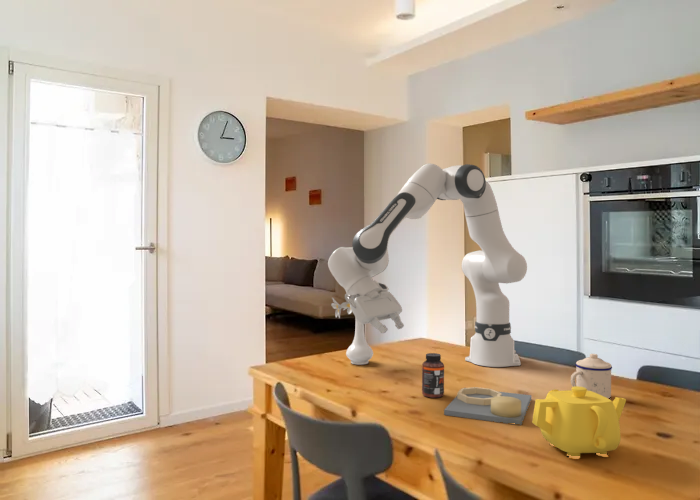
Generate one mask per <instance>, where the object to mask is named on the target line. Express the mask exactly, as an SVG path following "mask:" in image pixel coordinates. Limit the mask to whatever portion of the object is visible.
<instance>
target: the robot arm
mask: <svg viewBox="0 0 700 500" xmlns="http://www.w3.org/2000/svg"><path fill="white" fill-rule="evenodd" d="M494 194H495V193H494V191H493V189H492V187H491V184H490V183H489V182H488V181H486V175H485V174H484V172H483V171H482V169H481V168H480V167H479V166H477V165H474V164H468V163H467V164H457V165H451V166H449V167H445V168H442V167H440V166H439V165H437V164H435V163H425V164H424V165H422V166H420V168H418V169H417V170H416V171H415V172H414V173H413V174H412V175H411V176H410V177H409V178H408V180H407V181H406V182H405V183H404V185H403V186H402V187H401V189H400V190H399V191H398V193H397V194H396V195H395V196H394V198H393V199H392V200H391V201H390V202H389V203H388V204H387V205H386V207H385V208H384V209H383V210H382V211H381V213H380V214H378V216H377V217H376V218H375V219H374V220H372V222H371V223H369V224H368V225H366V226H365V227H363V228H361V229H360V230H359V231H358V232H357V233H356V234H355V235H354V237H353V239H352V244H351V245H352V247H346V246H340V247H338V248H336V249H335V250H333V251H332V252H331V254H330V255H329V258H328V260H327V261H328V262H327V267H328V270H329V271H330V273H331V275H332V277H334V279H335V281H336V282H337V284H338V285H340V287H342V288H343V289H344V291H345V294H347V295H348V302H349V304H350V308H351V310H352V313H353V315H354V317H356V318H357V320H358V321H359V322H360V323H362V324H364V325H366V324H370V326H372V327H374V328H375V329H377V330H378V332H379V333H380V334H385V333H386V332H387V331H389V329H388V327H387V326H386V325H385V324H382V322H380V321H384V320H388V319H389V320H390V319H391V320H392V321H394V324H395V325H394V326H395V327H396V329H397V330H401V329H403V328H404V327H405V324H404V323H403V322H402V319H401V317H400V314H401V313H402V312H403V308H402V305H401V304H400V303H399V301H398V300H397V298H396V297H395V296H394V295H393V294H392V292H390V291H389V290H390V289H389V287H388V286H387V285H386V284H385V283H381V282H378V281H376V280H375V279H373V278H374V277H376V276H378V275H379V274H381V273H383V272H384V271H385V270H386V269H387V267H388V265H389V261H390V260H389V259H390V258H389V251H388V247H389V245H388V244H389V239H390V237H391V235H392V234H393V233H394V231H395V230H396V229H397V228H398V227H399V226H400V224H401V223H402V222H403V221H404V220H405V219H406V218H408V219H410V220H419V219H421V218H422V217H423V216H424V215H425V214H427V213H428V212H429V210H431V208H432V207H433V205H434V204H435V202H436V200H439V201H459V200H460V202H461V203H462V204H463V210H464V216H465V220H466V225H467V230H468V235H469V238H470V239H471V240H472V241H473V242H474V243H476V244H477V245H478V247H479V248H480V249H481V250H480V249H479V250H476V251H470V252H468V253H467V254H465V255H464V256H463V258H462V261H461V271H462V273H463V275H464V276H465V277H466V278H467V279H468V280H469V282H470V284H471V286H472V290H473V294H474V297H475V305H476V307H475V308H476V309H475V310H476V311H475V313H476V320H475V325H474V332H475V333H474V335H472V336H471V337H470V349H469V355H468V356H465V357H464V358H465V359H464V360H465V362H466V361H467V362H470V363H472V364H475V365H478V366H481V367H482V366H483V367H491V368H506V367H513V366H514V367H516V366H521V364H522V363H521V360H520V357H519V354H517V350H515V340H514V338H513V337H512V336H511V333H512V330H511V329H512V326H511V322H510V300H509V298H508V297H507V296H506V295H505V294H504V293H503V291H502V290H501V287H500V284H513V283H518V282H521V281H522V280H523V279H524V277H526V274H527V270H528V264H527V260H526V258H525V257H524V256H523V255H522V253H521V254H520V253H519V252H518V250H516V249H515V248H514V247H513V245H512V244H511V243H510V241H509V239H508V238H507V236H506V234H505V231H504V228H503V225H502V222H501V220H502V219H501V215H500V213H499V208H498V204H497V201H496V196H495V195H494Z"/></svg>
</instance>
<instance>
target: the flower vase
mask: <svg viewBox="0 0 700 500" xmlns="http://www.w3.org/2000/svg"><path fill="white" fill-rule="evenodd" d="M331 299H332V303H331V305H330V306H331V307H332V309H334V311H335V312H334V314H335V315H334V316H335V318H338V319H341V312H342V311H345V310H346V313H347V315H351V314H352V313H353V312H352V310H351V308H350V304H349V302H348V295H347V293H345V294H344V300H345V301H346V302H342V303H341V304H339V302H337V301H336V299H335V298H334V297H331ZM354 317H355V316H354ZM354 320H355V325H354V326H355V329H354V330H355V331H354V337H353V340H352V343H351V344H350V345H349V346H348V348H347V349H346V352H345V355H346V357H347V358H348V359H349V360H350V363H351V364H352V365H358V366H360V365H361V366H363V365H368V364H369V361H370V360H371V359H372V357H373V356H374V351H373V349H372V347H371V346H370V345H369V344H368V342H367V340H366V335H365V324H362V323H360V322H359V321H358V320H357V318H356V317H355V319H354Z"/></svg>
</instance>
